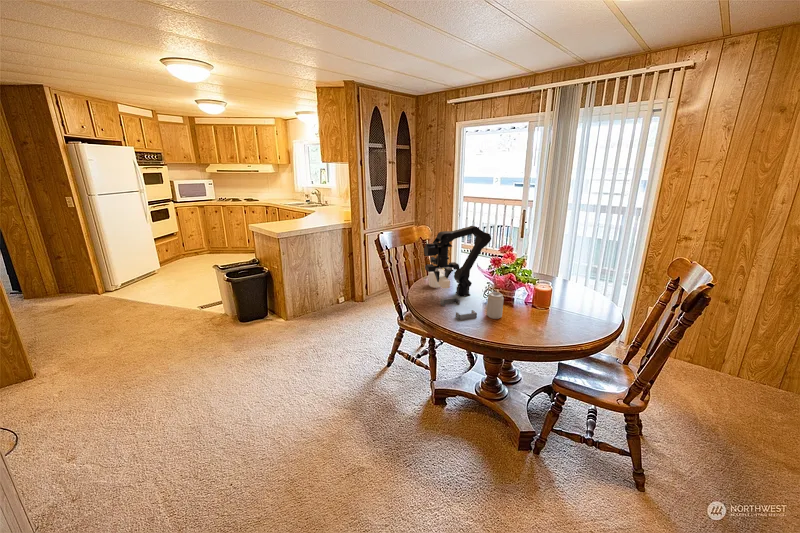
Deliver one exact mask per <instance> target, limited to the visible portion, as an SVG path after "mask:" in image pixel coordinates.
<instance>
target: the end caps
mask: <svg viewBox="0 0 800 533" xmlns="http://www.w3.org/2000/svg"><path fill="white" fill-rule="evenodd" d="M460 302H461V300H460V299H459V298H457V297H451V298H442V299H440V302H439V303H440V306H442V307H443V308H444V307H446V306H445V305H448V304H457V305H458V306H459V305H460ZM477 316H478V313H477V312H476V311H475V310H471V313H464V314H460V313H459V312H455V318H456V319H457V320H458V321H465V320H471V319H472V320H473V319H476V318H477Z"/></svg>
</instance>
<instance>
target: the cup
mask: <svg viewBox="0 0 800 533" xmlns="http://www.w3.org/2000/svg"><path fill="white" fill-rule="evenodd" d="M438 271H439V272H441V273H442V274H443V275H444V276H445V269H444V268H443V269H438ZM427 273H428V275H427V276H428V286H429V287H430V288H434V289H436V288H437V289H438V288H439V289H440V288H442V287H441V286H440V285H439V284H438V283H437V282H436V281H435V280H434V272H428V271H427Z"/></svg>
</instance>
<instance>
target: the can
mask: <svg viewBox="0 0 800 533" xmlns="http://www.w3.org/2000/svg"><path fill="white" fill-rule="evenodd" d="M504 299H505V298H504V296H503V294H502V293H501V292H495V291H493V292H489V295H488V296H487V305H486V316H487V317H488V318H489V319H493V320H498V319H500V318H502V317H503V310H504V309H503V308H504V301H505V300H504Z"/></svg>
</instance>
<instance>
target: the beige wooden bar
mask: <svg viewBox="0 0 800 533" xmlns="http://www.w3.org/2000/svg"><path fill="white" fill-rule="evenodd" d="M434 280H435V281H436V282H437V279H436V276H435V274H434ZM437 283H438V284H439V285H440V286H441V287H440V288H442V289H450V288H451V280H449V279H448V278H446V277H445V274H444V275H443V274H442V273H441V272H440V275H439V282H437Z"/></svg>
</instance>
